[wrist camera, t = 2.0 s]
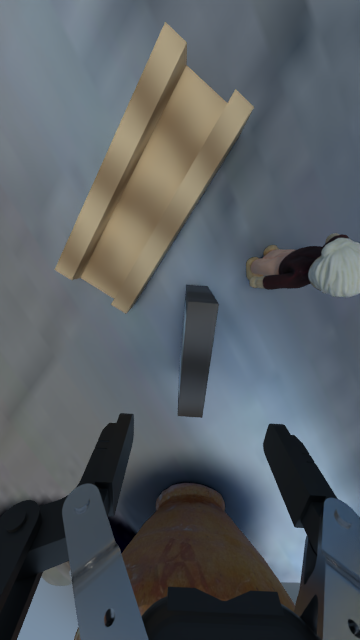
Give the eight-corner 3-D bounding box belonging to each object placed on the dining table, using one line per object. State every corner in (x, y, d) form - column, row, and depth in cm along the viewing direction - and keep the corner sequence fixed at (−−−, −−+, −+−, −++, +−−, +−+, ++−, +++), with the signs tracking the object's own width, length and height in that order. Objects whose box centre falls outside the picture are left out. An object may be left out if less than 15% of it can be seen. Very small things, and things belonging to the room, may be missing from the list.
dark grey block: (186, 284, 24) (187, 301, 16) (207, 286, 24) (219, 304, 16) (178, 370, 28) (177, 415, 20) (197, 371, 28) (202, 417, 20)
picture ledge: (169, 69, 17) (165, 21, 13) (240, 134, 18) (253, 106, 15) (74, 266, 23) (54, 269, 19) (134, 304, 24) (126, 313, 21)
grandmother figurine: (250, 295, 24) (317, 343, 12) (230, 271, 23) (282, 296, 11) (307, 249, 22) (456, 251, 10) (288, 221, 21) (427, 186, 9)
